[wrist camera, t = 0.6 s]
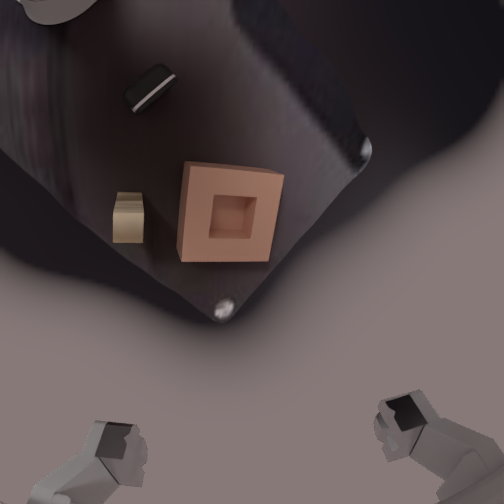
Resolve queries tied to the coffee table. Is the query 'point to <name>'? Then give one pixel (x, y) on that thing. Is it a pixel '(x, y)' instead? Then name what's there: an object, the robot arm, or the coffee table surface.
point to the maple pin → (128, 218)
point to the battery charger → (149, 88)
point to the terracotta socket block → (227, 212)
